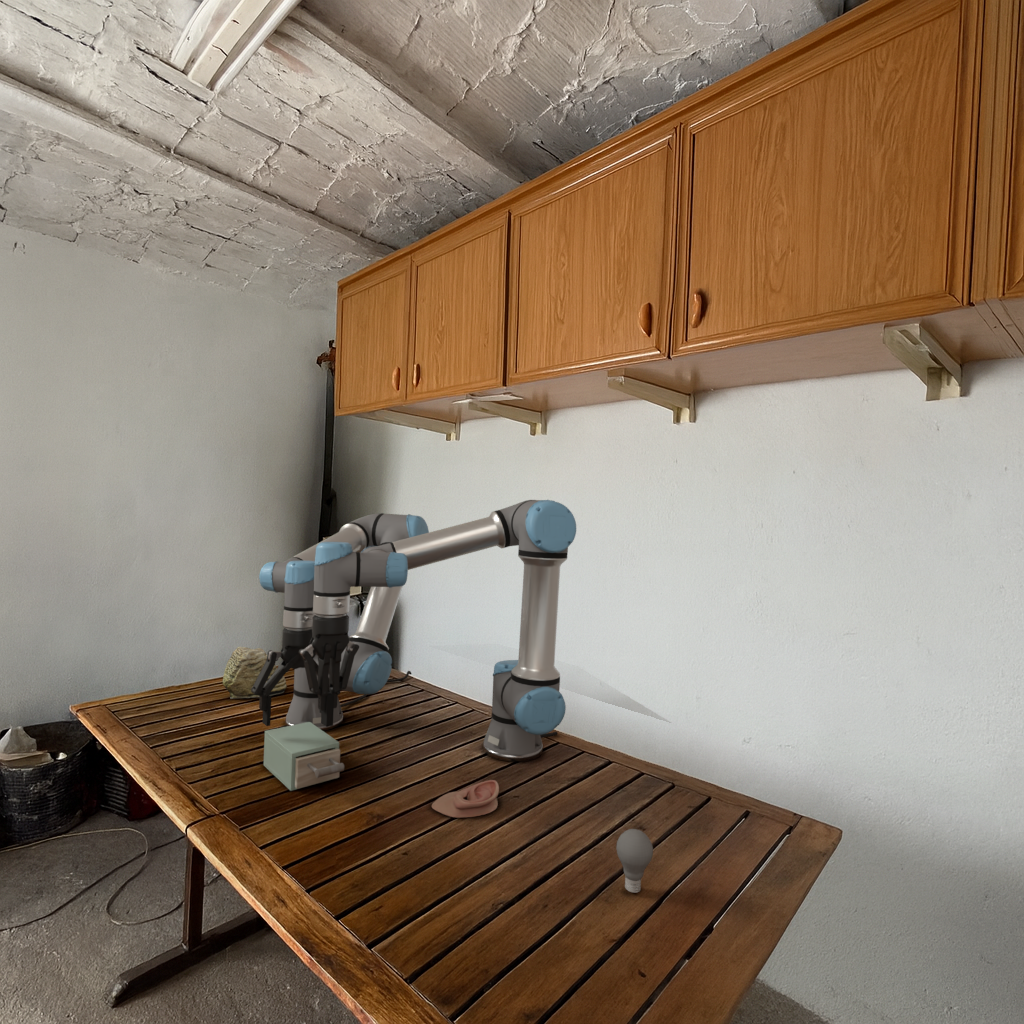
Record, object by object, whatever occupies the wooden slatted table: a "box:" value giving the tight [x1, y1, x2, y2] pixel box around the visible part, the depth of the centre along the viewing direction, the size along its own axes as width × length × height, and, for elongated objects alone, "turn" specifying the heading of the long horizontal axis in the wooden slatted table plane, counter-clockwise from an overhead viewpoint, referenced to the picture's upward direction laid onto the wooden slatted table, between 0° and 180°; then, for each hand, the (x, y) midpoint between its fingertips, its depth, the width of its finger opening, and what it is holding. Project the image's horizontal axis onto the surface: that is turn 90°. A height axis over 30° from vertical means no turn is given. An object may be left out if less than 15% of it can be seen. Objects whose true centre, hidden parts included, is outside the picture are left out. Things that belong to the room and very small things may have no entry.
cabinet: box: [263, 722, 340, 792], centre depth 145 cm, size 16×11×8 cm
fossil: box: [222, 646, 288, 699], centre depth 198 cm, size 9×18×15 cm, turn 132°
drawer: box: [295, 748, 345, 790], centre depth 141 cm, size 21×10×6 cm, turn 41°
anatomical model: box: [431, 779, 500, 819], centre depth 132 cm, size 13×4×12 cm
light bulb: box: [615, 828, 654, 894], centre depth 106 cm, size 6×6×10 cm
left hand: (295, 718), depth 147 cm, fingers open, 13 cm apart
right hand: (326, 724), depth 136 cm, fingers closed
